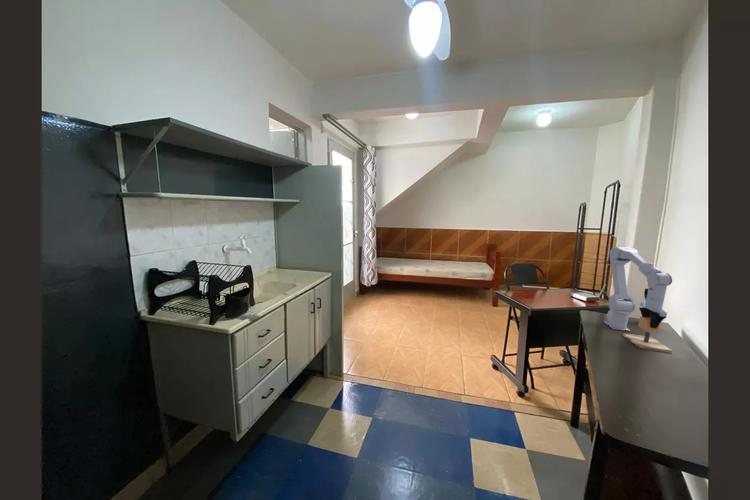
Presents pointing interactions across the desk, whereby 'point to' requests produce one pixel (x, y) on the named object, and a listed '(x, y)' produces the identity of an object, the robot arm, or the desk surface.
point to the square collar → (646, 324)
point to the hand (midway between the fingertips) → (649, 325)
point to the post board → (647, 342)
